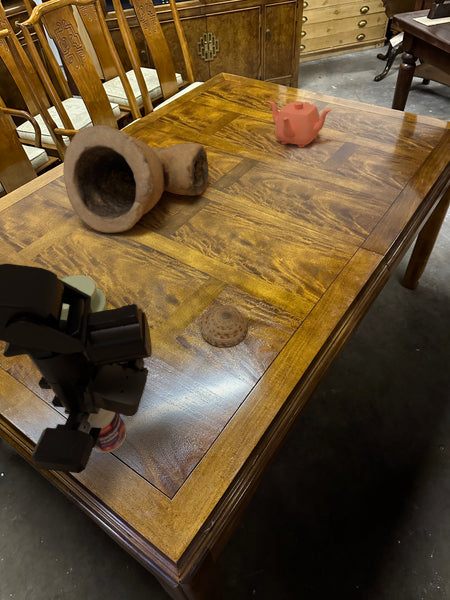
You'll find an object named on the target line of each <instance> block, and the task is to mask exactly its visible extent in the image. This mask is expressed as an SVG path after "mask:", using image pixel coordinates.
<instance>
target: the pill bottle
mask: <svg viewBox="0 0 450 600" xmlns="http://www.w3.org/2000/svg"><path fill="white" fill-rule="evenodd" d="M88 422H89V423H90V424H91V427H96V428H102V429H101V432H100V434H99V437H98V438H99V440H100V443H101V447H100V448H93V450H95V451H96V452H98V453H103V454H105V453H112V452H113V451H116V450H117V449H118V448H120V447H121V445H123V443H124V441H125V439H126V437H127V427H126V425H125V422H124V420H123V419H122V416H121V414H119V413H115V412H111V411H107V410H104V409H102V408H100V410H99V413H98V414H91V416H90V418H89V421H88Z"/></svg>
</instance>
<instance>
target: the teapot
mask: <svg viewBox="0 0 450 600" xmlns="http://www.w3.org/2000/svg"><path fill="white" fill-rule="evenodd" d="M267 103H268V104H269V105H270V107H271V109H272V110H271V111H272V121H273V123H274V125H275V130H274V134H275V137H276V139H277V140H278V141H279V142H281V144H282V145H288V144H292V145H297V147H298V148H304V147H306V145H309V144H311V142H313V141H314V140H315V139H316V138H317V136H318V135H319V133H320V131H322V129H323V128H324V125H325V122H326V117H327V115H328V114H329V113H330V112H331V111H333V108H327V109H324V110H322V112H321V114H320V113H319V109H318V107H317V105H315V104H311V103H310V102H308V101H305V102H303V101H301V100H299V101H295V102H294V101H293V102H292V101H291V102H289V103H287V104H286V105H285V106H283V107H282V108H281V109H280V111H279V109H278V105H277V104H276V103H275V101H273V100H270V99H269V100H267Z"/></svg>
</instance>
